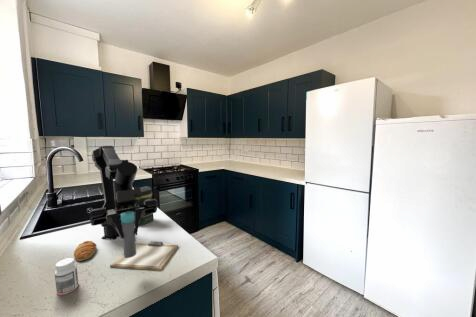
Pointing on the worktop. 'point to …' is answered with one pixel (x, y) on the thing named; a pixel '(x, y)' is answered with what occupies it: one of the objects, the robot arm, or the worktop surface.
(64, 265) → the pill bottle
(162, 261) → the clipboard
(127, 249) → the ball
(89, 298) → the worktop surface
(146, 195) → the coffee jar
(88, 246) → the pastry
